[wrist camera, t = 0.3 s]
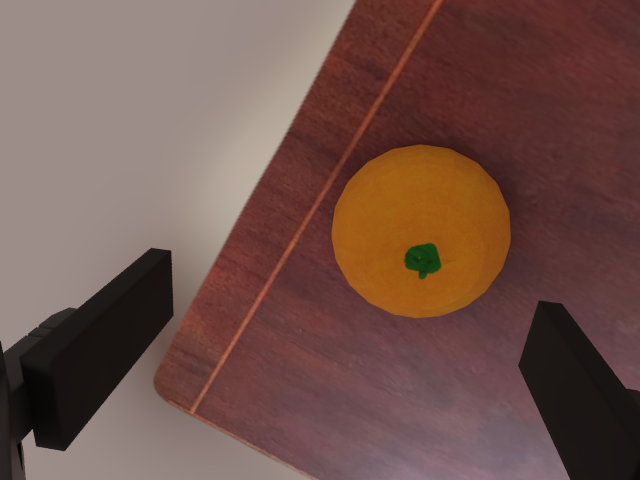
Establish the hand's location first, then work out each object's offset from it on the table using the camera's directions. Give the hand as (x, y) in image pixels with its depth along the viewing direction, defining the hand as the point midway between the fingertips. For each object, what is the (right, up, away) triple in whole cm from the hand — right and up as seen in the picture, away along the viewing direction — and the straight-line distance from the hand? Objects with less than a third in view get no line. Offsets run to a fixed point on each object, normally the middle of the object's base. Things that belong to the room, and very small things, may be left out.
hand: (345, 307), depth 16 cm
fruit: (+6, +4, +18) cm, 20 cm away
